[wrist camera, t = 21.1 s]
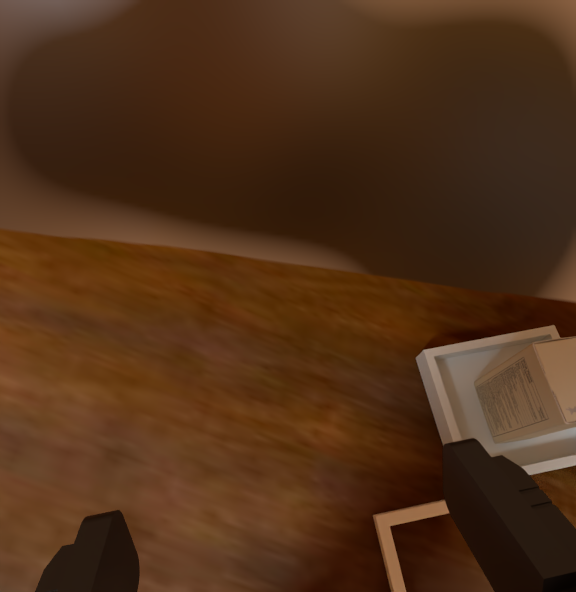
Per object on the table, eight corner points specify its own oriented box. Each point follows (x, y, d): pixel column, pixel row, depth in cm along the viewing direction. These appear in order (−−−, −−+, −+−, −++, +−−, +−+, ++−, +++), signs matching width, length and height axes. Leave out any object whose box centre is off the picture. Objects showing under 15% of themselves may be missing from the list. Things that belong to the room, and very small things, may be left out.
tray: (593, 458, 42) (614, 456, 39) (456, 488, 41) (468, 488, 38) (538, 334, 47) (554, 324, 44) (415, 358, 46) (423, 349, 43)
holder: (575, 639, 36) (587, 645, 35) (412, 679, 35) (416, 686, 34) (518, 483, 41) (526, 483, 40) (372, 514, 40) (375, 516, 39)
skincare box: (536, 437, 42) (627, 419, 31) (492, 445, 42) (567, 429, 30) (512, 371, 44) (587, 332, 33) (470, 378, 44) (532, 341, 33)
